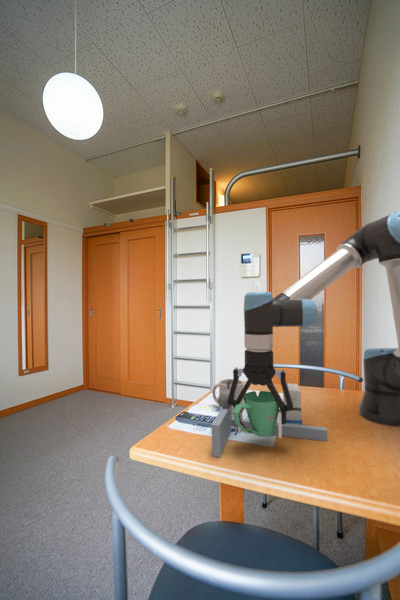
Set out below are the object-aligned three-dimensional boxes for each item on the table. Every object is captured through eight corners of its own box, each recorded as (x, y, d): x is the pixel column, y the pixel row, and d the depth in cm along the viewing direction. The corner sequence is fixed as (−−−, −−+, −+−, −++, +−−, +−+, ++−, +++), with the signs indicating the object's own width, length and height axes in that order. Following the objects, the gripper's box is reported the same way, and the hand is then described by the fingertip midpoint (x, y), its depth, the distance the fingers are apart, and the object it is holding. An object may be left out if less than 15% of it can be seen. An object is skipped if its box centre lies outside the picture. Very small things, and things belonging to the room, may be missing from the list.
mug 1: (248, 411, 99) (248, 383, 99) (225, 416, 96) (224, 387, 96) (233, 402, 109) (233, 376, 109) (211, 405, 106) (211, 379, 106)
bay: (325, 435, 81) (324, 385, 81) (337, 475, 62) (335, 410, 62) (224, 423, 90) (223, 378, 90) (207, 455, 71) (206, 398, 71)
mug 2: (262, 422, 82) (260, 388, 82) (289, 434, 74) (287, 396, 74) (224, 437, 74) (222, 399, 74) (250, 452, 66) (248, 409, 66)
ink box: (302, 429, 85) (301, 391, 85) (285, 428, 86) (285, 390, 86) (298, 418, 93) (297, 383, 93) (283, 417, 94) (282, 382, 94)
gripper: (302, 348, 74) (303, 432, 74) (221, 346, 81) (222, 422, 81) (304, 353, 67) (305, 446, 67) (214, 350, 74) (215, 434, 73)
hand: (259, 433), depth 74 cm, fingers closed on mug 2, 10 cm apart
